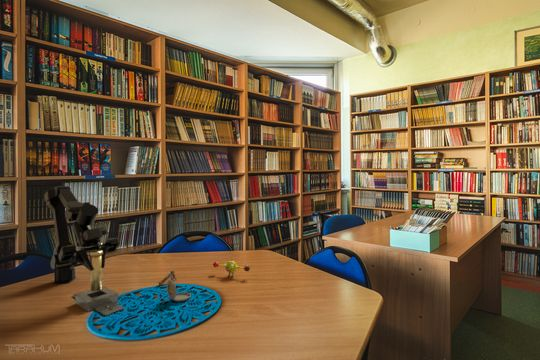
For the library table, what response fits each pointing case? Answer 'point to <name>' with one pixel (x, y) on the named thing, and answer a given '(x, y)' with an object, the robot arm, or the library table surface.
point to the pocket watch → (172, 292)
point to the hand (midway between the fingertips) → (97, 268)
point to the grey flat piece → (98, 301)
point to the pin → (96, 269)
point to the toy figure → (231, 267)
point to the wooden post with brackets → (167, 277)
